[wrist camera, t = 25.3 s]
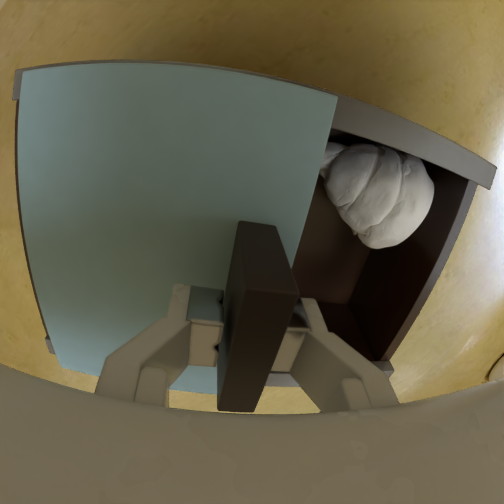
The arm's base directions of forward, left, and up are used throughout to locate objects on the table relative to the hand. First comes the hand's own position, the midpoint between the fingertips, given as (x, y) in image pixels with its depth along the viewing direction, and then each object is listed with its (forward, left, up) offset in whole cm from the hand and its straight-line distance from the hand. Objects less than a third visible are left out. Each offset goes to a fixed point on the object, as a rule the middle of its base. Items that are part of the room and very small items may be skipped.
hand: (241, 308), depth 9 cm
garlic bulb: (+6, +1, -8) cm, 9 cm away
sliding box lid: (-3, 0, -2) cm, 4 cm away
